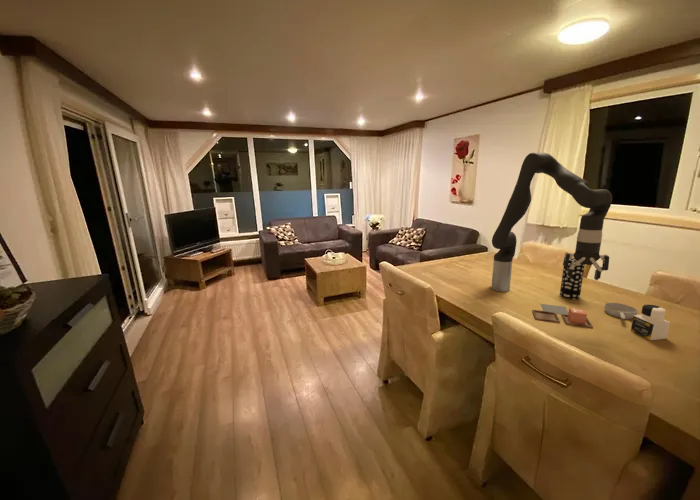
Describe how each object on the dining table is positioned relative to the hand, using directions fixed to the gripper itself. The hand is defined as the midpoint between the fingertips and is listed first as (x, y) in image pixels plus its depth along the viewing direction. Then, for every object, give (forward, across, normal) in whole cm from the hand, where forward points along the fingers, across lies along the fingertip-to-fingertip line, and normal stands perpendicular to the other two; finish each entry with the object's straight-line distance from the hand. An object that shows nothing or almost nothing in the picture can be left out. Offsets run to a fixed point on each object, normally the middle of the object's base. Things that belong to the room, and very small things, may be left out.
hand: (582, 278), depth 117 cm
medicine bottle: (+20, +22, -2) cm, 30 cm away
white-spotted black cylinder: (+20, +4, +32) cm, 38 cm away
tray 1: (+20, -11, 0) cm, 23 cm away
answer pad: (+20, -6, +10) cm, 23 cm away
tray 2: (+20, 0, 0) cm, 20 cm away
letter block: (+20, 0, 0) cm, 20 cm away
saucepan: (+20, +18, +12) cm, 30 cm away
